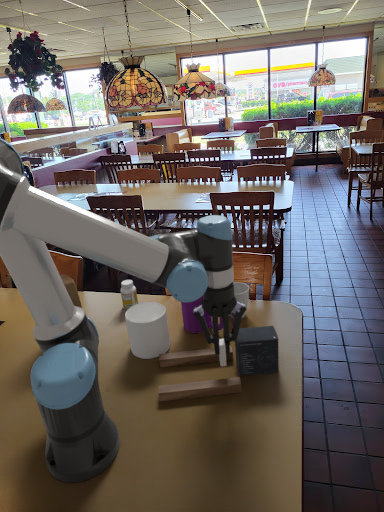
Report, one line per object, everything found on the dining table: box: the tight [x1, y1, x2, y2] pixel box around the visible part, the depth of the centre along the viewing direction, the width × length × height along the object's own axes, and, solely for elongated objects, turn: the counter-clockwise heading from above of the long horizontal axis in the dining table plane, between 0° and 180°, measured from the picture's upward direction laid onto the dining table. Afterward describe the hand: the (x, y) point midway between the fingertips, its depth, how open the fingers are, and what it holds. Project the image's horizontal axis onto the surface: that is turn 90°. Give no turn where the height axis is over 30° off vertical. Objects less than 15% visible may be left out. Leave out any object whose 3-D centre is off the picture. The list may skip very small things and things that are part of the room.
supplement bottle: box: [120, 279, 139, 311], centre depth 134 cm, size 5×5×10 cm
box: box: [234, 325, 280, 377], centre depth 99 cm, size 11×7×10 cm, turn 91°
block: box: [59, 274, 83, 309], centre depth 118 cm, size 11×8×20 cm
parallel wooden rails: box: [158, 345, 242, 402], centre depth 99 cm, size 15×20×2 cm
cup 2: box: [229, 281, 250, 320], centre depth 122 cm, size 8×8×10 cm
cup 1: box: [124, 301, 171, 360], centre depth 110 cm, size 12×12×12 cm
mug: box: [180, 295, 223, 334], centre depth 116 cm, size 9×16×15 cm, turn 51°
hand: (222, 362), depth 98 cm, fingers closed
